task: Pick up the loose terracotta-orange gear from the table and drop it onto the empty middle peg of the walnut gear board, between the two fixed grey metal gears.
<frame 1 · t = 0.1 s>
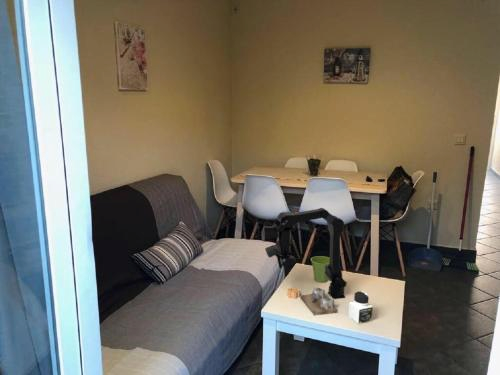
hand: (283, 272, 190), 14 cm above the table, fingers open, 9 cm apart
orange gear: (293, 295, 198), on the table
medicine bottle: (359, 319, 177), on the table
plant pot: (320, 280, 217), on the table
gear board: (317, 305, 189), on the table
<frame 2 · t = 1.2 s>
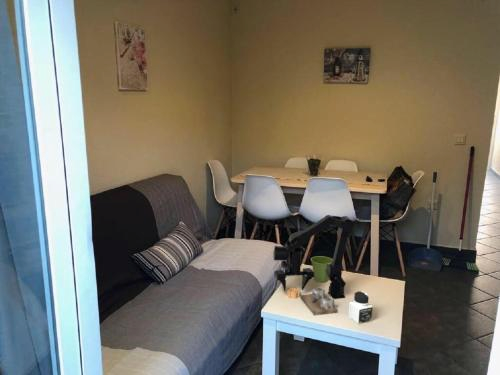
hand: (293, 290, 197), 3 cm above the table, fingers open, 9 cm apart
nothing on the table moved.
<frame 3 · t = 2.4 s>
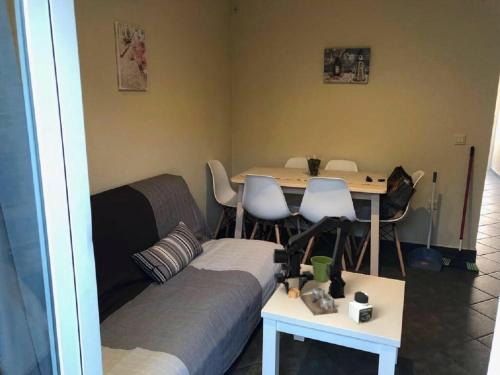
hand: (293, 293, 198), 1 cm above the table, fingers closed on orange gear, 5 cm apart
orange gear: (293, 295, 198), on the table, touching gripper
everything else where it was.
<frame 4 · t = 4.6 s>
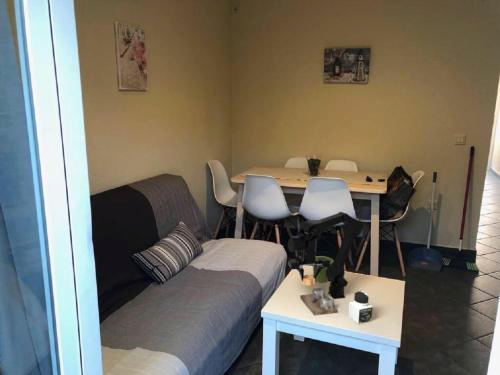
hand: (308, 280, 190), 11 cm above the table, fingers closed on orange gear, 5 cm apart
orange gear: (308, 283, 190), point 9 cm above the table, touching gripper
everything else where it was.
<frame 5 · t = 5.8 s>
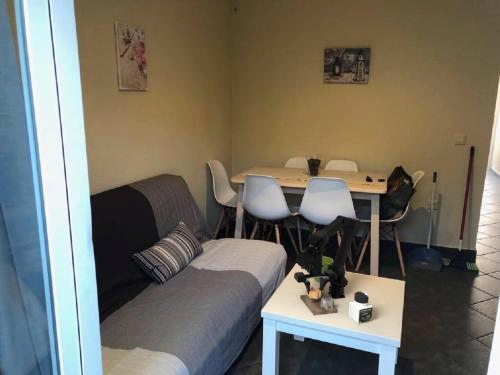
hand: (314, 293, 188), 6 cm above the table, fingers closed on orange gear, 5 cm apart
orange gear: (313, 296, 188), point 5 cm above the table, touching gripper
everything else where it was.
when the fingers open (4 cm above the table, at t = 6.8 s): orange gear drops 1 cm, resting on gear board.
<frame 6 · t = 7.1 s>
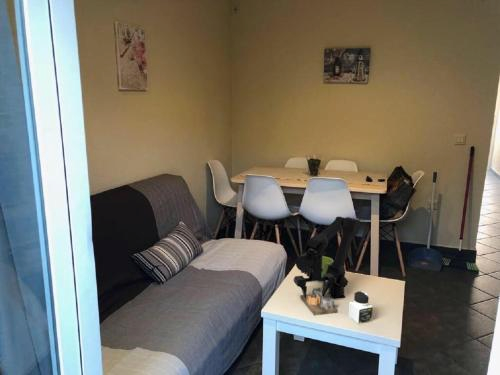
hand: (313, 297, 188), 4 cm above the table, fingers open, 9 cm apart
orange gear: (313, 302, 188), point 1 cm above the table, touching gear board
everything else where it was.
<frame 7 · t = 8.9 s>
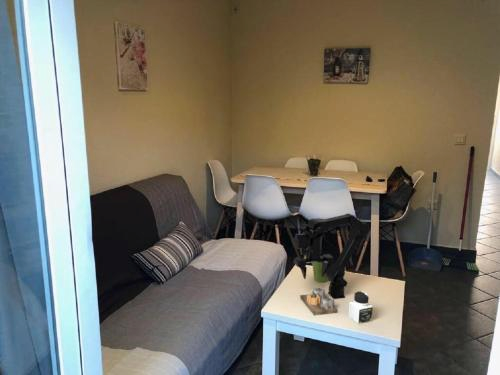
hand: (313, 277, 192), 11 cm above the table, fingers open, 9 cm apart
nothing on the table moved.
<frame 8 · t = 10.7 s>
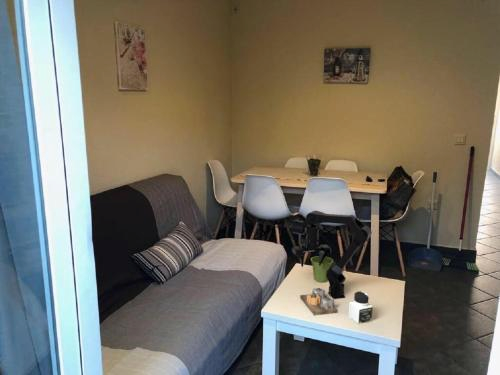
hand: (310, 266, 204), 12 cm above the table, fingers open, 9 cm apart
nothing on the table moved.
at the end: orange gear 0.1 cm from the target spot on the gear board, point 1.5 cm above the gear board's base; orange gear tilted 0°; the gripper is holding nothing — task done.
